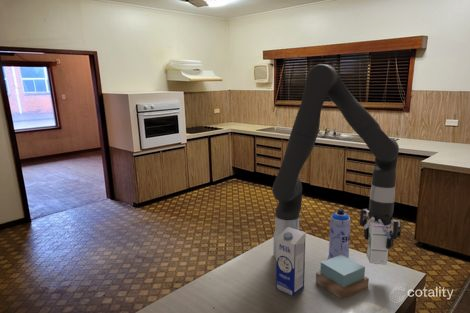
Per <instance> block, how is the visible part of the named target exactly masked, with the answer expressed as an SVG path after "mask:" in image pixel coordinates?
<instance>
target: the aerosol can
mask: <svg viewBox="0 0 470 313" xmlns="http://www.w3.org/2000/svg"><path fill="white" fill-rule="evenodd" d="M329 219H330V220H329V221H330V222H329V243H328V256H327V258H328V259H331V258H334V257H336V256H339V255H343V256H345V257H347V258H349V257H350V255H349V254H350V240H351V238H350V236H351V220H352V219H351V218H350V216H349V214H347V213H346V212H345V209H342V208H341V209H337V212H334V213H333V214H331V216H330V218H329ZM349 259H350V258H349Z"/></svg>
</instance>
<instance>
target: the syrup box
mask: <svg viewBox="0 0 470 313" xmlns="http://www.w3.org/2000/svg"><path fill="white" fill-rule="evenodd" d="M385 226H386V225H385ZM382 227H383V225H382V224H380V223H379V222H377V221H370V226H369V234H368V240H367V248H366V250H367V252H366V257H367V259H368V262H369V264H373V265H384V266H385V265H386V266H387V264H388V258H389V257H388V256H389V249H387V248H386V242H387V238H388V237H387V235H386V233H385V232H384V231H383V229H382ZM386 228H387V229H390V224H389V225H387V226H386ZM389 232H390V231H389Z"/></svg>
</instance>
